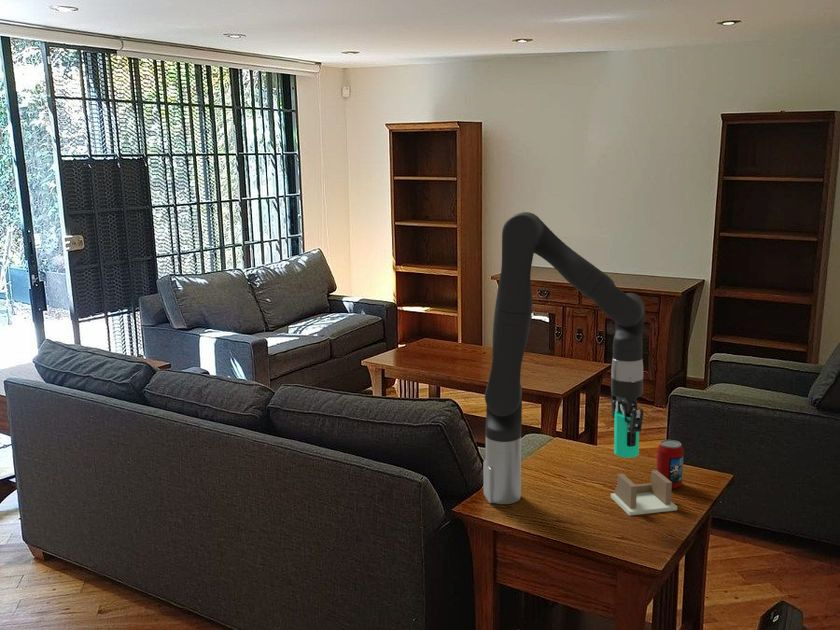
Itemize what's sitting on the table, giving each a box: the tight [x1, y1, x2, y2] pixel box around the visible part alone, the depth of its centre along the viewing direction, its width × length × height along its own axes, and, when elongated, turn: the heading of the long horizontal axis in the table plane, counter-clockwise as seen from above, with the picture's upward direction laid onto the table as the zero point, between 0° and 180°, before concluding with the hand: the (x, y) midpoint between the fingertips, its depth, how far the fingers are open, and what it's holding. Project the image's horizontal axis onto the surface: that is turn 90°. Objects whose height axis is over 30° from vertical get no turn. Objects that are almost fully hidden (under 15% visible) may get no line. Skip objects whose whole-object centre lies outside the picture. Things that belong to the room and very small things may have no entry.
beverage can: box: [656, 439, 685, 490], centre depth 216 cm, size 7×7×12 cm
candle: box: [613, 411, 640, 459], centre depth 197 cm, size 6×6×12 cm
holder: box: [610, 469, 678, 516], centre depth 205 cm, size 13×11×7 cm
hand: (625, 441), depth 198 cm, fingers closed on candle, 5 cm apart
